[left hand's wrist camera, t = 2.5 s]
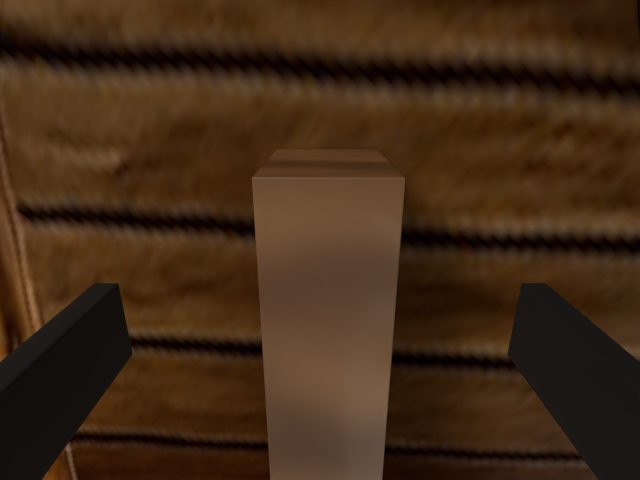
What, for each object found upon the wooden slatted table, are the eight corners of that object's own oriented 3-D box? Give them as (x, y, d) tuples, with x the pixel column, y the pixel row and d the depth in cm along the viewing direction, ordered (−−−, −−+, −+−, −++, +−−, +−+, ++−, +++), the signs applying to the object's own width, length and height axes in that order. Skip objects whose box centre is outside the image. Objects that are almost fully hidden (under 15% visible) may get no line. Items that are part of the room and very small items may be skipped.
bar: (276, 148, 21) (251, 177, 14) (377, 148, 21) (405, 177, 14) (289, 486, 30) (278, 611, 23) (360, 487, 30) (372, 612, 23)
